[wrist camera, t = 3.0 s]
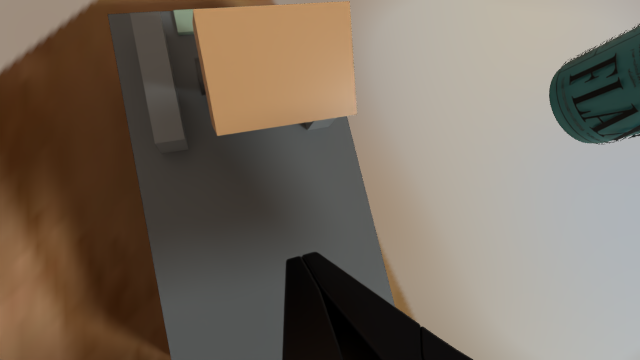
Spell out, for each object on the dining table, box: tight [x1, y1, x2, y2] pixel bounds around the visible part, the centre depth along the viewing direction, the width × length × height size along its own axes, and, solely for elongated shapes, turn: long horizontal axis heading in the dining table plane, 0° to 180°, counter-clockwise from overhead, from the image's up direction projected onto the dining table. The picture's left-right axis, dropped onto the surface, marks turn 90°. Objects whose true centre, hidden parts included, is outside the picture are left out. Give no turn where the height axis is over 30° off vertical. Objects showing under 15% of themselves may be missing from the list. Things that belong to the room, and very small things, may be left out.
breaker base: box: [108, 5, 395, 360], centre depth 16 cm, size 16×9×6 cm, turn 14°
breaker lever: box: [192, 1, 357, 136], centre depth 11 cm, size 2×3×8 cm
